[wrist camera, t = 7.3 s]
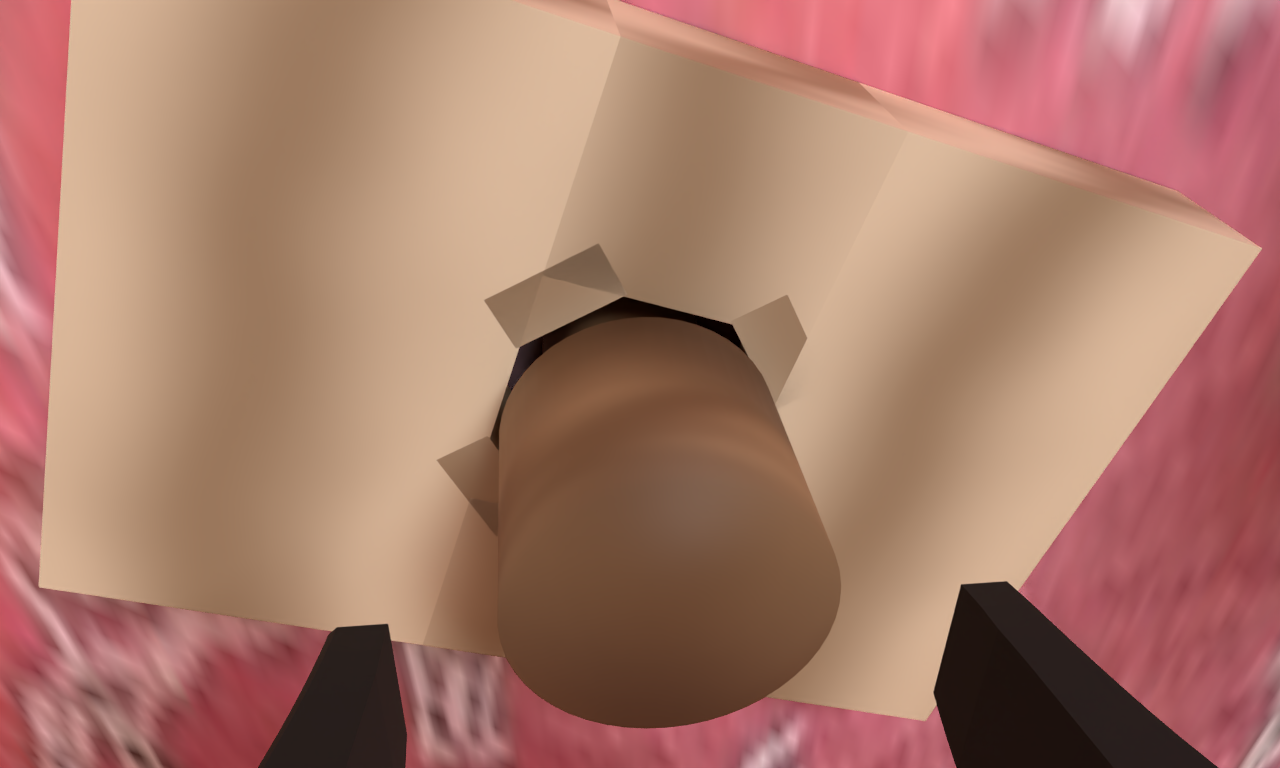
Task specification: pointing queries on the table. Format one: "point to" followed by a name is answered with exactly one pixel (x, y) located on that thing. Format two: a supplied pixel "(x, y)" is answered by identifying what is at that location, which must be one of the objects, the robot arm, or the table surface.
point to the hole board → (566, 305)
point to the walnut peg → (654, 526)
